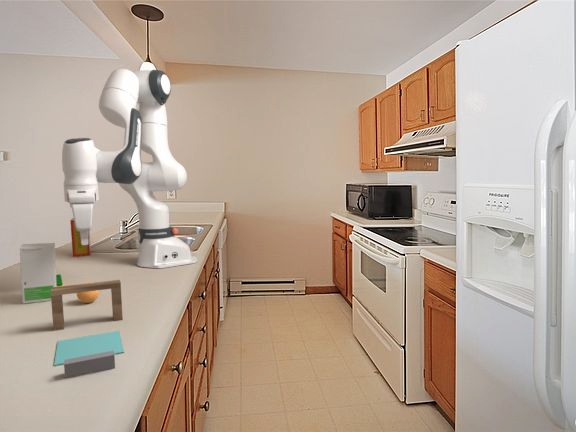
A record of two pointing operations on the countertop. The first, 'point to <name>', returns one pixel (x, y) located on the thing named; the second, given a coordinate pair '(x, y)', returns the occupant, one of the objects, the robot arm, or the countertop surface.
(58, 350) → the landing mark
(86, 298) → the ball
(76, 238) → the baking soda box
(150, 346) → the countertop surface
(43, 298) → the skincare box
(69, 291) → the bridge
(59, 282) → the dish sponge
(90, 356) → the stopper
